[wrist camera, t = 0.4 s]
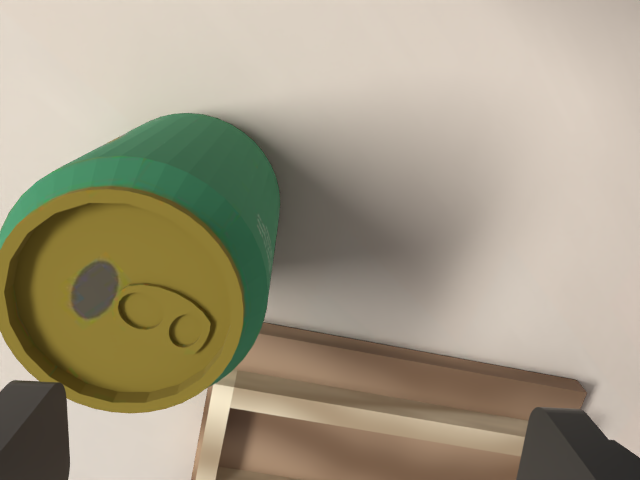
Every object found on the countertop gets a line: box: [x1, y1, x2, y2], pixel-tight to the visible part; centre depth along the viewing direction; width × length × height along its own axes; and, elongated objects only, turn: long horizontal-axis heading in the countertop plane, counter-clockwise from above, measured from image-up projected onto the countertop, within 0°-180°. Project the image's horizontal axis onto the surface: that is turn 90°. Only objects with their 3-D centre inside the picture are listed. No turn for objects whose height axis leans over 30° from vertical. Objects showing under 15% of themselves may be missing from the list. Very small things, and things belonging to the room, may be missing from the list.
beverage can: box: [0, 113, 280, 413], centre depth 21 cm, size 8×8×12 cm
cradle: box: [191, 323, 587, 480], centre depth 30 cm, size 12×20×3 cm, turn 77°
